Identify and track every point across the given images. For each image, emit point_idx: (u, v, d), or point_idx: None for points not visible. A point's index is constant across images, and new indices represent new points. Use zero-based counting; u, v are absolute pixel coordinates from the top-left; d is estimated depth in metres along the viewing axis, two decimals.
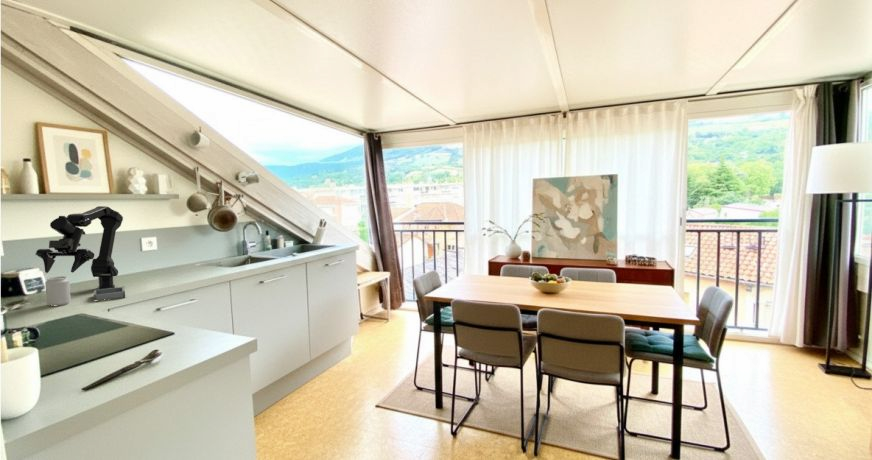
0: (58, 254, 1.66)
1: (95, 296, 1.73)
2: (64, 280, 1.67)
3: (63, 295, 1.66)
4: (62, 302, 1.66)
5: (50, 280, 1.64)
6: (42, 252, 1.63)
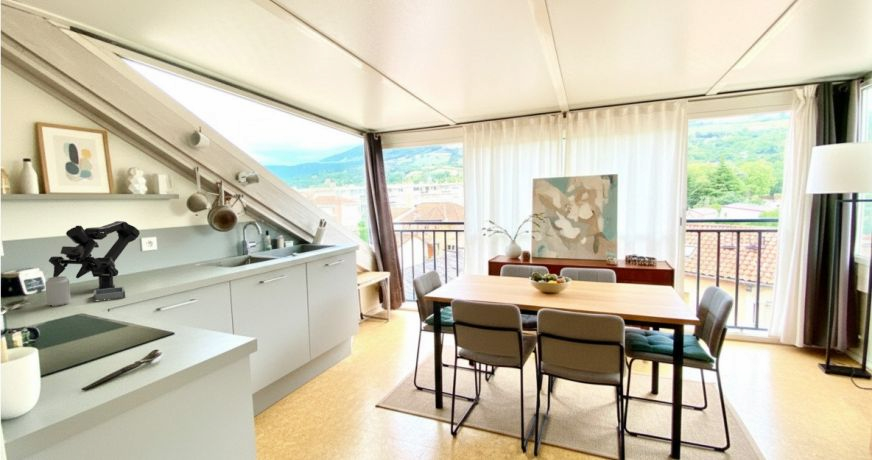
0: (69, 262, 1.75)
1: (95, 296, 1.73)
2: (64, 280, 1.67)
3: (63, 295, 1.66)
4: (62, 302, 1.66)
5: (50, 280, 1.64)
6: (54, 259, 1.73)
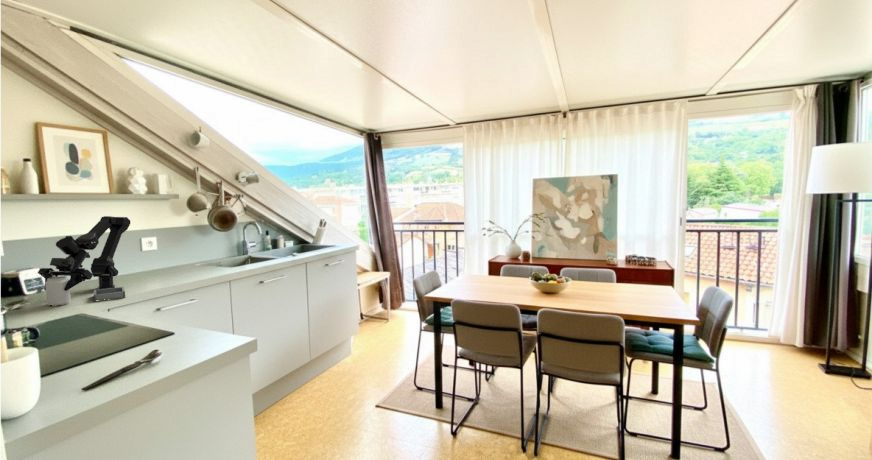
0: (59, 273, 1.70)
1: (95, 296, 1.73)
2: (64, 280, 1.67)
3: (63, 295, 1.66)
4: (62, 302, 1.66)
5: (50, 280, 1.64)
6: (44, 270, 1.68)
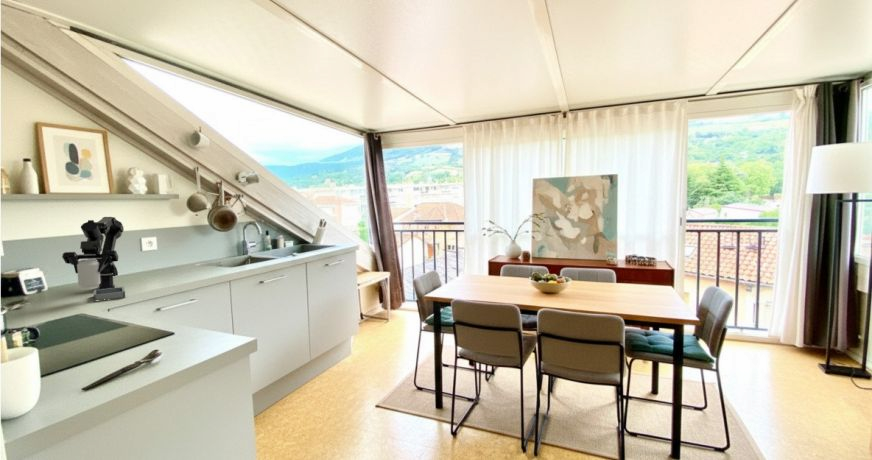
0: (84, 257, 1.75)
1: (95, 296, 1.73)
2: (97, 262, 1.74)
3: (97, 276, 1.74)
4: (96, 283, 1.73)
5: (85, 262, 1.70)
6: (69, 254, 1.71)
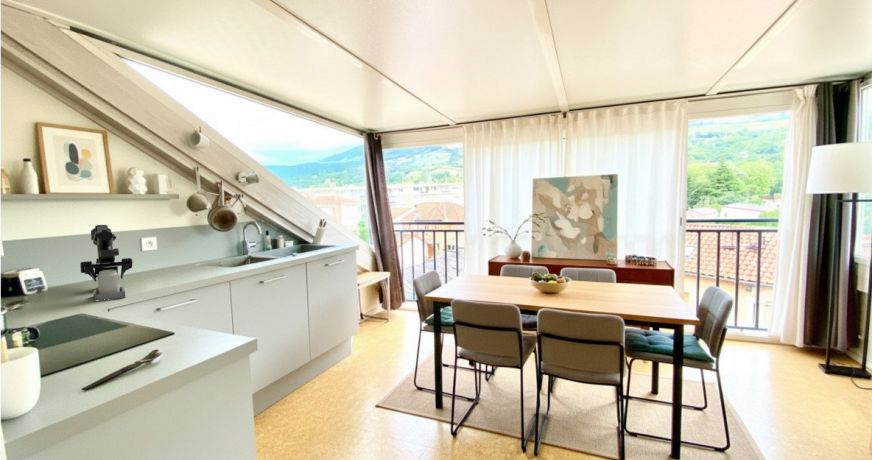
0: (100, 265, 1.80)
1: (95, 296, 1.73)
2: (116, 272, 1.81)
3: (118, 286, 1.81)
4: None
5: (107, 273, 1.77)
6: (88, 263, 1.76)
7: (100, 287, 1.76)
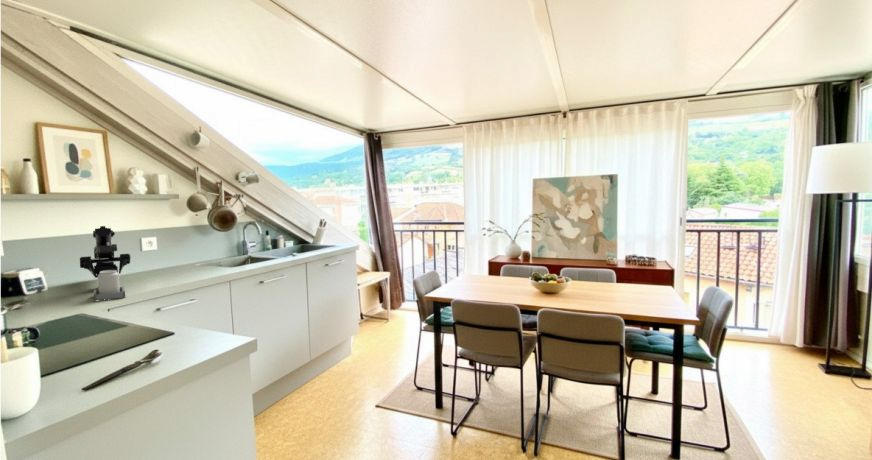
0: (99, 260, 1.86)
1: (95, 296, 1.73)
2: None
3: (118, 286, 1.81)
4: None
5: (108, 273, 1.77)
6: (87, 258, 1.81)
7: (100, 287, 1.76)
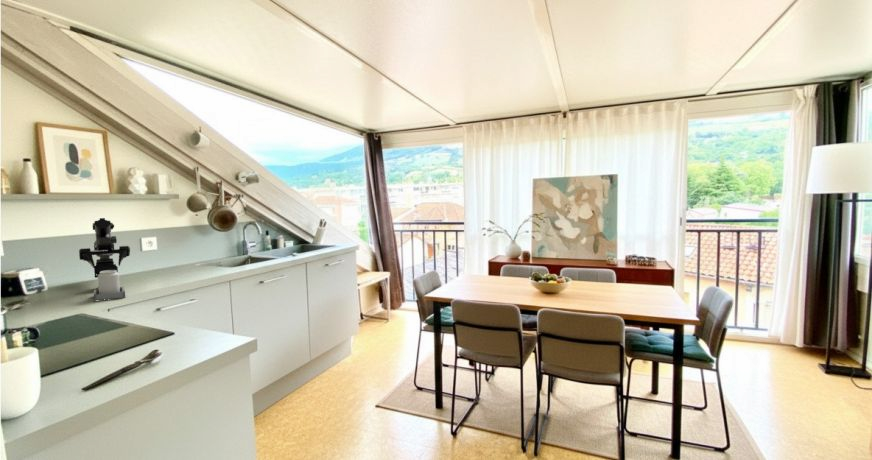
0: (98, 252, 1.85)
1: (95, 296, 1.73)
2: None
3: (118, 286, 1.81)
4: None
5: (108, 273, 1.77)
6: (86, 250, 1.81)
7: (100, 287, 1.76)
